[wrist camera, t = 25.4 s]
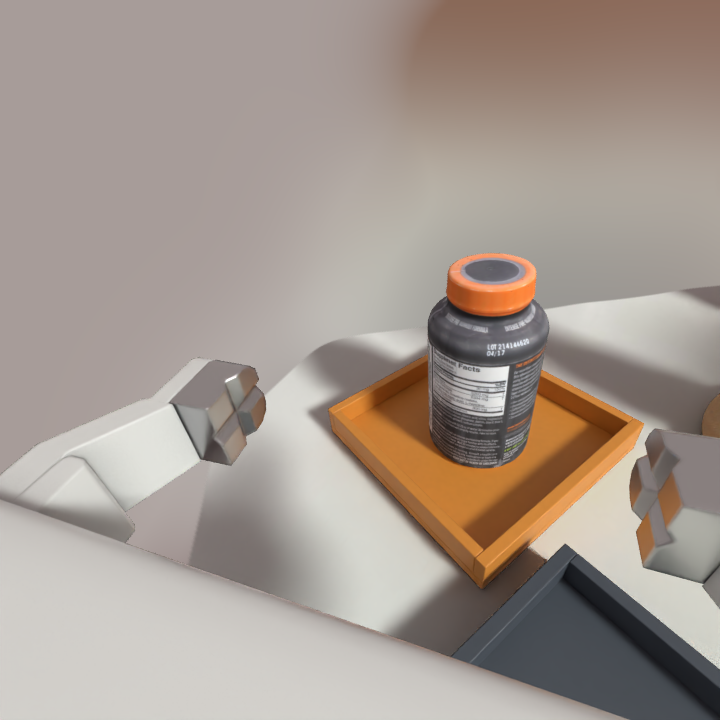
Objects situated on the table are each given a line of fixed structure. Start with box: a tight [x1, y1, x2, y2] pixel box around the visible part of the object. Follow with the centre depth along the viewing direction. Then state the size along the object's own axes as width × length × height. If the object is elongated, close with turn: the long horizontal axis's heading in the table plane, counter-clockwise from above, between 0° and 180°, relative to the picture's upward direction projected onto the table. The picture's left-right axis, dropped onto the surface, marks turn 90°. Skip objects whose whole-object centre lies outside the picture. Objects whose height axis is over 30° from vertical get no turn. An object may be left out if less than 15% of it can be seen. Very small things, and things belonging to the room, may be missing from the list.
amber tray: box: [328, 354, 644, 589], centre depth 26 cm, size 13×13×2 cm
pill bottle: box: [428, 253, 549, 468], centre depth 23 cm, size 6×6×11 cm
